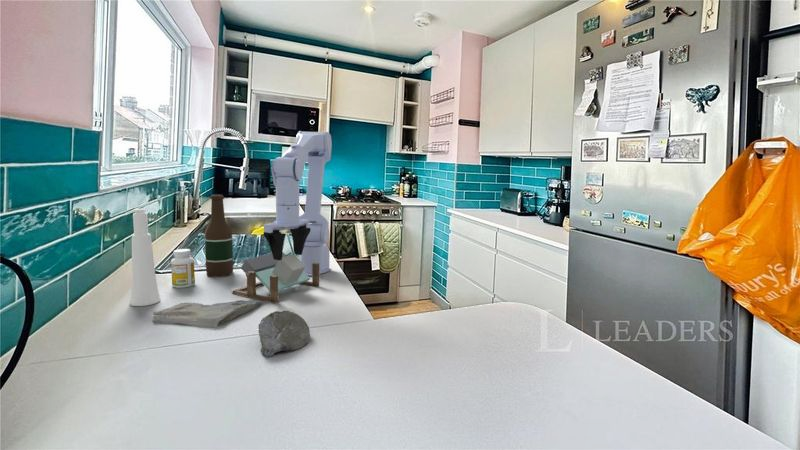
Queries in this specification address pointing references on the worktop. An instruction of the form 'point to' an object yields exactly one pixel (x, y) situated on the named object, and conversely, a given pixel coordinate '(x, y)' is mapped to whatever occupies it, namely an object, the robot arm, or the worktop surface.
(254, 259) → the trapdoor plate
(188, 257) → the supplement bottle
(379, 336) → the worktop surface
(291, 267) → the stone block
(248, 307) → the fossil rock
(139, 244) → the cosmetic bottle
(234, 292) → the walnut frame
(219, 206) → the beer bottle
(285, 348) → the fossilized seashell
